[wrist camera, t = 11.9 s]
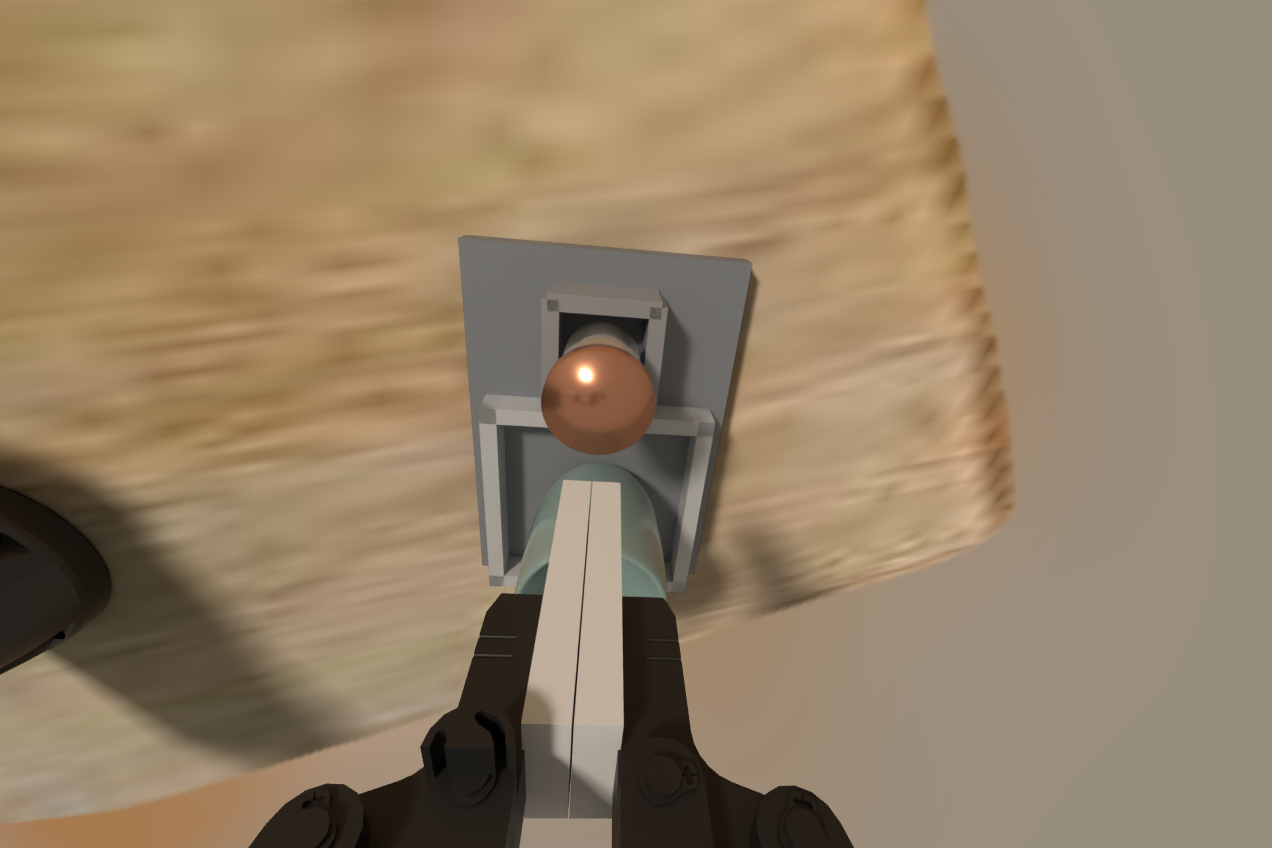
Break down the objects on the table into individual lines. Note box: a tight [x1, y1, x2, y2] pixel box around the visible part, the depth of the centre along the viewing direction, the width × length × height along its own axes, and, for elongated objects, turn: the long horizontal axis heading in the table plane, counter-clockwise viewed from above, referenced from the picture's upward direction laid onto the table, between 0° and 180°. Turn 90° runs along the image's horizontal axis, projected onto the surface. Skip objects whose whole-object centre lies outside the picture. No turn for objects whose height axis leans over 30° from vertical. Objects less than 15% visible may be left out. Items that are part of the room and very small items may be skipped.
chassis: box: [458, 235, 753, 593], centre depth 31 cm, size 16×23×5 cm
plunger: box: [541, 321, 655, 455], centre depth 23 cm, size 5×5×6 cm
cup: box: [515, 461, 668, 602], centre depth 29 cm, size 8×8×10 cm
